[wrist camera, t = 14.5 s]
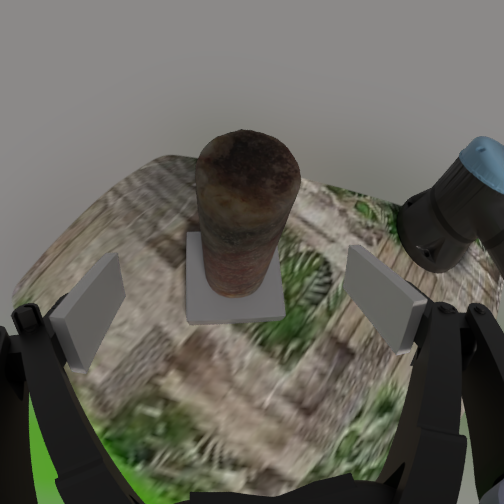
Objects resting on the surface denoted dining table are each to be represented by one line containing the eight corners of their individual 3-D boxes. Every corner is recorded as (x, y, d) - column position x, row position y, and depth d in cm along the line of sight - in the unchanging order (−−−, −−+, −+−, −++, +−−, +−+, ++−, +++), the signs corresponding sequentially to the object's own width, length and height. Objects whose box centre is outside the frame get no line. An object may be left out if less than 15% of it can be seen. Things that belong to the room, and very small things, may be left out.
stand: (271, 238, 41) (275, 228, 39) (281, 320, 37) (285, 315, 34) (189, 241, 40) (186, 232, 37) (189, 325, 35) (186, 321, 33)
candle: (263, 245, 38) (294, 129, 19) (268, 299, 35) (313, 212, 16) (205, 247, 37) (189, 129, 19) (206, 302, 34) (182, 215, 16)
